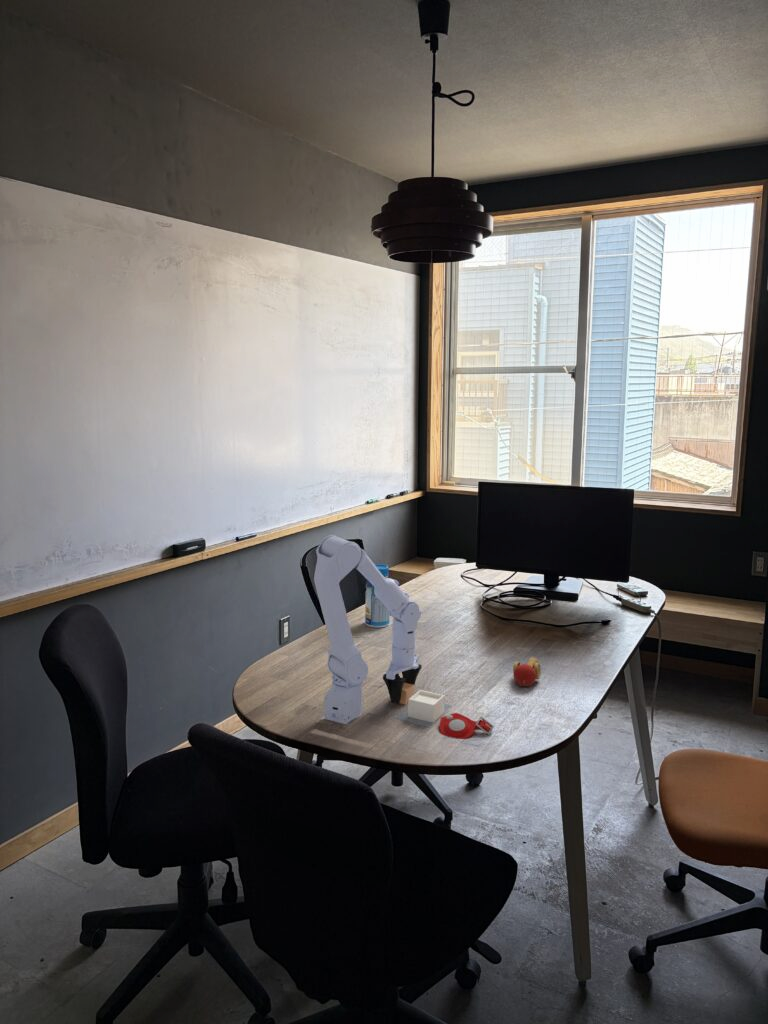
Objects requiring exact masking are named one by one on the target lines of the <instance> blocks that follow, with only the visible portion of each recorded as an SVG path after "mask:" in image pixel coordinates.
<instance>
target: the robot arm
mask: <svg viewBox="0 0 768 1024" xmlns="http://www.w3.org/2000/svg"><path fill="white" fill-rule="evenodd" d="M315 553H316V557H317V559H316V565H315V569H314V577H313V582H314V586H315V590H316V594H317V596H318V597H317V598H318V600H319V604H320V608H321V613H322V615H323V620H324V623H325V627H326V631H327V635H328V639H329V642H330V646H329V647H328V648H327V654H328V655H327V661H326V662H327V668H328V670H329V672H330V673H331V678H332V679H331V680H332V681H331V686H330V688H329V689H328V691H326V693H325V695H324V716H322V717H321V718H320V719H321V721H323V720H328V721H331V722H336V723H338V724H343V725H347V724H349V723H350V722H351V721H353V720H355V719H357V718H359V717H361V716H362V712H363V711H362V708H363V707H362V705H363V703H362V702H363V684H364V681H365V680H366V679H367V677H368V675H369V666H368V664H367V663H366V661H365V660H364V658H363V656H362V653H361V651H360V650H359V648H358V647H357V645H356V644H355V642H354V639H353V635H352V630H351V628H350V623H349V622H350V621H349V619H348V615H347V610H346V607H345V602H344V599H343V594H342V591H341V587H340V586H341V585H340V582H341V581H342V580H343V579H344V578H345V577H346V576H347V575H348V574H349V573H350V572H351V571H352V570H353V569H356V570H357V571H358V572H359V573H360V574H361V575H362V576H363V577H364V578H365V579H366V580H367V581H369V582H370V583H371V584H372V585H373V586H374V587H375V589H374V594H375V595H376V597H377V598H378V599H379V600H380V601H381V602H382V603H383V604H384V605H385V607H386V608H387V609H388V613H389V617H392V635H391V636H392V640H391V644H392V646H391V661H390V664H389V666H388V668H387V670H386V673H384V674H383V675H382V680H383V682H384V684H385V685H386V687H387V690H388V695H389V701H390V700H391V701H390V703H393V704H397V705H399V704H400V703H399V702H400V699H401V692H402V688H403V685H404V683H408V684H413V685H414V686H415V684H416V681H417V678H418V675H419V673H420V671H422V668H423V665H422V664H420V663H419V654H418V653H417V654H416V653H415V652H416V651H415V649H416V629H417V628H418V626H417V625H418V622H419V620H420V619H421V615H422V611H420V607H419V605H418V604H417V602H415V601H413V600H411V599H410V598H409V597H410V595H409V593H407V592H404V591H403V590H402V588H401V587H400V586H399V585H400V582H399V581H398V580H397V579H393V578H392V577H386V578H385V577H384V576H383V575H382V574H381V572H380V571H379V570H378V568H377V567H376V566H375V565H374V564H375V563H374V562H373V561H372V560H371V558H370V557H369V555H368V554H367V553H366V551H365V550H364V549H363V548H361V547H360V545H359V544H358V543H356V542H355V541H349V540H346V539H345V538H341V537H339V536H337V535H335V534H330V535H327V536H325V537H324V538H322V540H321V541H320V543H319V544H318V546H317V548H316V549H315ZM400 673H401V675H402V677H401V675H400Z"/></svg>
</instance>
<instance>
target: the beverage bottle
mask: <svg viewBox="0 0 768 1024" xmlns="http://www.w3.org/2000/svg"><path fill="white" fill-rule="evenodd" d="M374 565H375V566H376V567H377V568H378V570H379V571H380V572H381V574H382V575H383V576H384V577H385V578H389V574H390V573H389V569H390V567H389V566H388V565H387V564H382V563H381V564H380V563H379V564H378V563H377V564H375V563H374ZM365 588H366V591H365V593H364V596H365V610H364V611H365V613H364V615H365V617H364V624H365V625H366V626H368V627H370V628H380V629H381V628H386V627H388V626H389V624H390V615H389V613H388V609H387V608H386V607H385V605H384V604H383V603H382V602H381V601H380V600H379V599H378V598H377V597H376V595H375V594H374V589H375V587H374V586H373V585H372V584H371V583H370V582H369V581H368V580H367V581H366V584H365Z"/></svg>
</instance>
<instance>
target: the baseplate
mask: <svg viewBox="0 0 768 1024" xmlns="http://www.w3.org/2000/svg"><path fill="white" fill-rule="evenodd" d="M451 707H452V704H451V705H450V704H446V703H444V713H443V714H442V715H441V716H440V717H439V718H438V719H437V720H435V721H434V722H429V721H424V720H420V719H416V718H412V717H408V707H406V709H405V710H403V711H402V712H401V713H400V714H398V715H397V716H396V717H395V718H394V720H399V721H402V722H406V723H410V724H415V725H418V726H422V727H427V728H431V726H433V724H435V722H437V721H438V720H439V719H441V717H443V715H444V714H445V713H447V711H448V710H449V709H451Z"/></svg>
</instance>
